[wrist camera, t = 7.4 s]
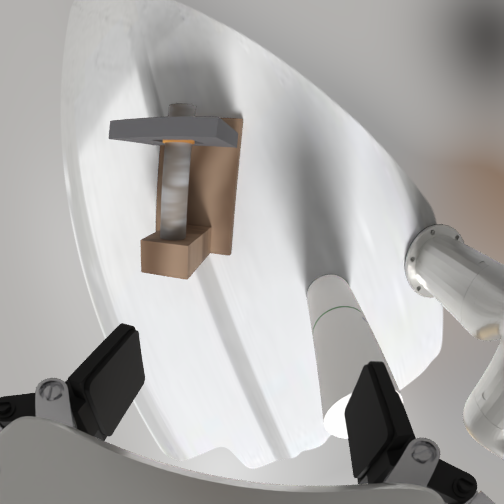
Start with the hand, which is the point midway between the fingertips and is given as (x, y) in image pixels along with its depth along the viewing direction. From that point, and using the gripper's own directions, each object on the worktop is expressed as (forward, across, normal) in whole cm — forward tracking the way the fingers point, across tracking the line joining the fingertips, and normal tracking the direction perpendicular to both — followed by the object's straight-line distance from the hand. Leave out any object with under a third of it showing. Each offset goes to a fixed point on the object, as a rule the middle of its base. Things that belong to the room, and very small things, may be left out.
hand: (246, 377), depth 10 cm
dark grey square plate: (+29, +12, -11) cm, 33 cm away
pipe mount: (+32, +12, -5) cm, 35 cm away
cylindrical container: (+32, -10, +10) cm, 35 cm away
